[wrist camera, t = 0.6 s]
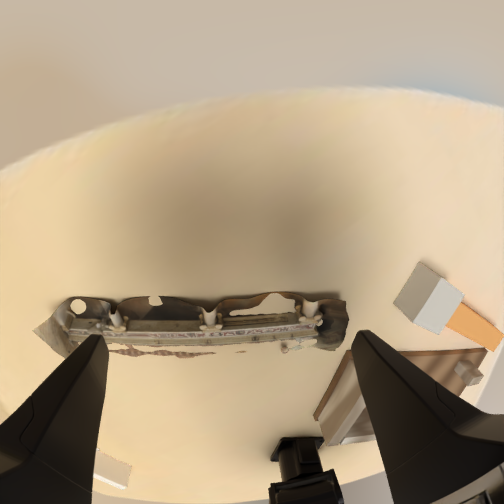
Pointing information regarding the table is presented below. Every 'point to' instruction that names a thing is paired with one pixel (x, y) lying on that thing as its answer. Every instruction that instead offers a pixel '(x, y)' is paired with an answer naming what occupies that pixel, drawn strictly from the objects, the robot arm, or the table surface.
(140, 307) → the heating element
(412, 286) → the tan bar grey block
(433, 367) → the cable board
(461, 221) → the table surface
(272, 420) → the table surface
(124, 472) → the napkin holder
